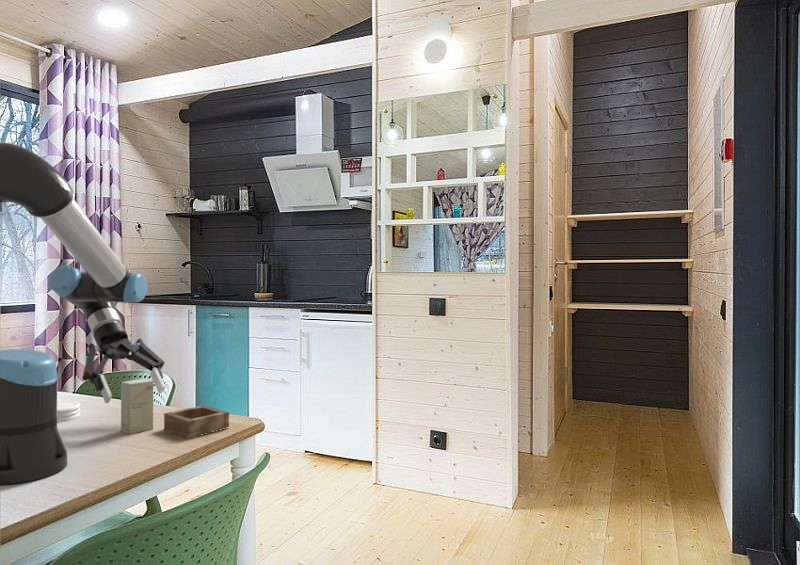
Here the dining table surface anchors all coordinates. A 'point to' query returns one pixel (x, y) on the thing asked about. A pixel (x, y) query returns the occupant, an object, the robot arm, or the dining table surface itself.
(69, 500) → the dining table surface
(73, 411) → the white round piece
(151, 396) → the skincare box
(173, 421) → the holder
